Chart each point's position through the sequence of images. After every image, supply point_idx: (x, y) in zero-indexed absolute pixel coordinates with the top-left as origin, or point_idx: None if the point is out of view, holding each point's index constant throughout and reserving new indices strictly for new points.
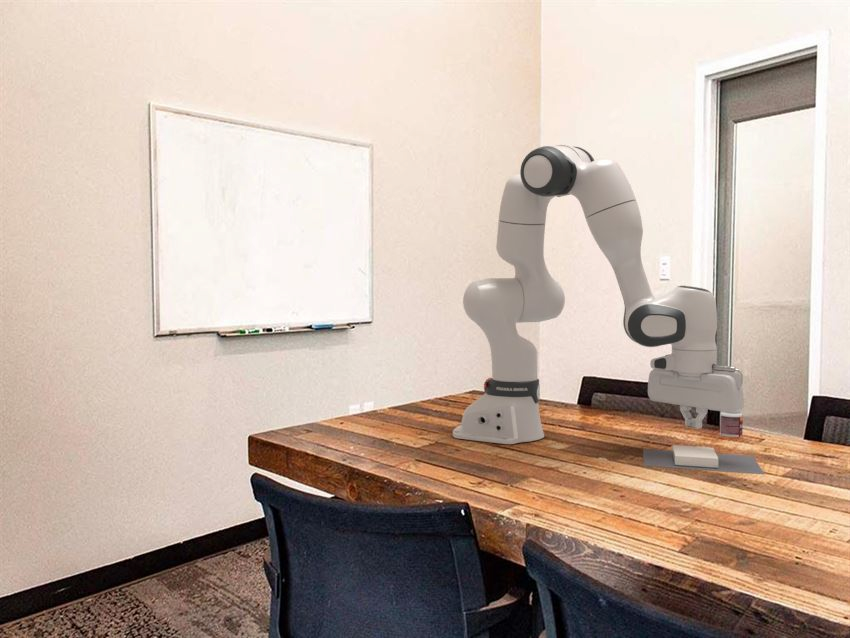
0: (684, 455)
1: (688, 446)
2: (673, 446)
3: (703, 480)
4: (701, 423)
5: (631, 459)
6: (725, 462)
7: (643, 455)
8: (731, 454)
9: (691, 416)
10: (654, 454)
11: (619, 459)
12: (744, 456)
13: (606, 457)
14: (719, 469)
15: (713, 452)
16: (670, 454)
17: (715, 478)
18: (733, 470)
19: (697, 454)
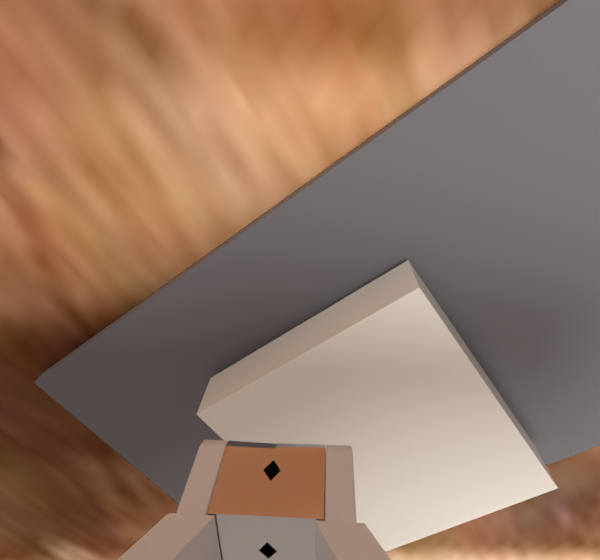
0: (383, 537)
1: (279, 378)
2: (221, 435)
3: (517, 548)
4: (353, 489)
5: (138, 502)
6: (519, 312)
7: (146, 476)
8: (474, 71)
9: (200, 535)
10: (159, 432)
11: (113, 528)
12: (584, 43)
13: (64, 536)
14: (541, 445)
15: (479, 399)
16: (203, 379)
17: (549, 505)
18: None
19: (424, 489)
